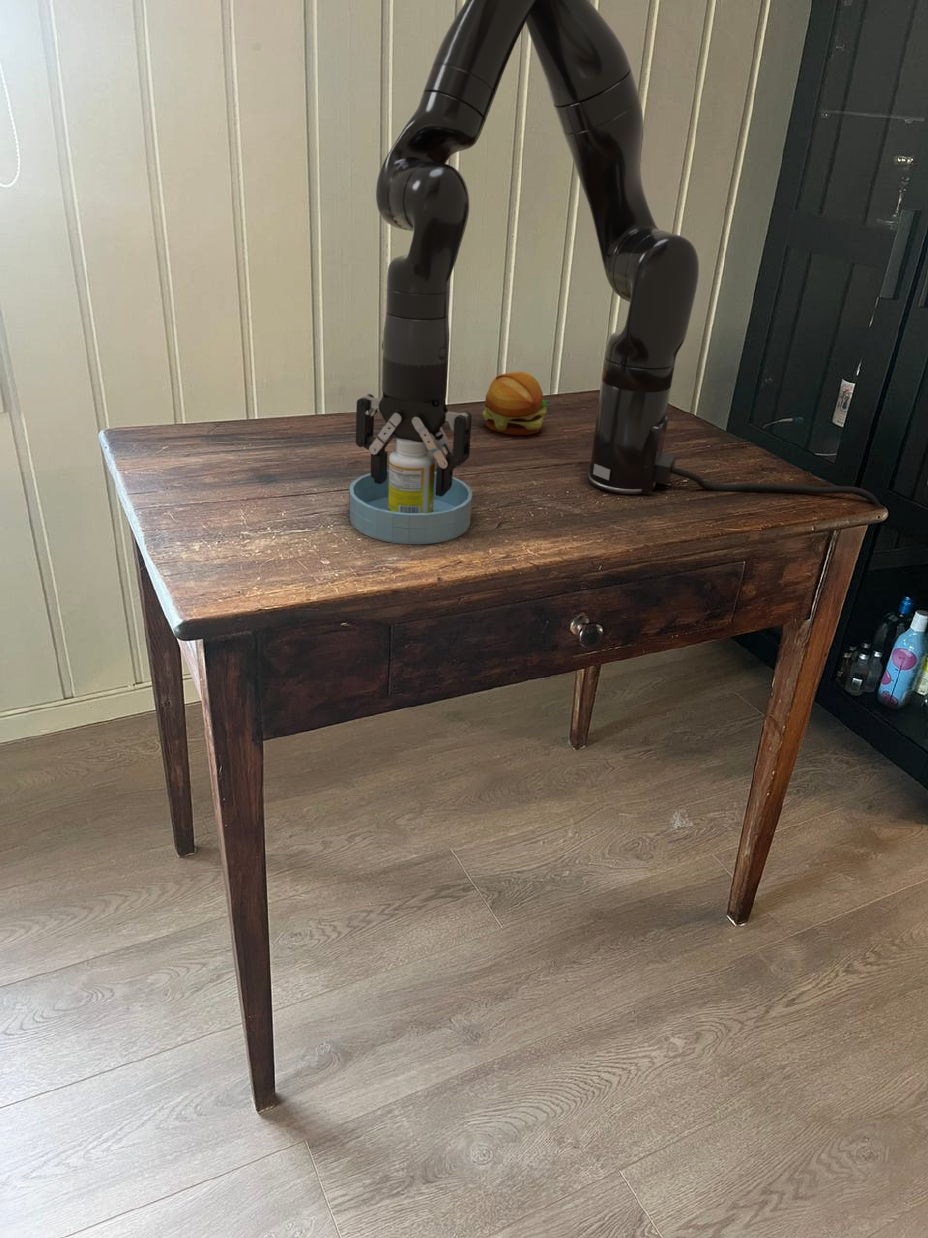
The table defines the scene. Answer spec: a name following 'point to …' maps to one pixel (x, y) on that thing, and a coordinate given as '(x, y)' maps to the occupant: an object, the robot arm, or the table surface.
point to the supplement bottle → (411, 478)
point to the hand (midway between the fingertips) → (410, 487)
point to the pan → (409, 527)
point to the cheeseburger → (515, 404)
